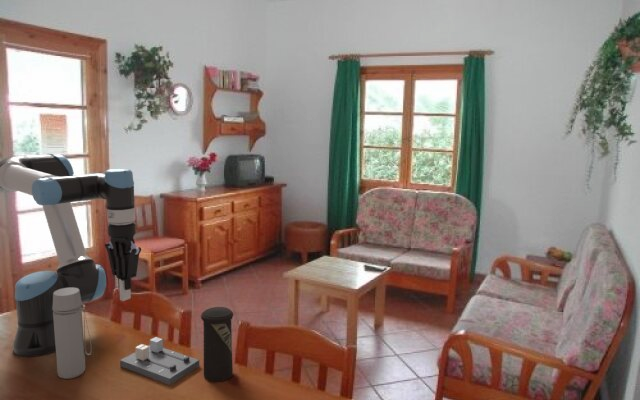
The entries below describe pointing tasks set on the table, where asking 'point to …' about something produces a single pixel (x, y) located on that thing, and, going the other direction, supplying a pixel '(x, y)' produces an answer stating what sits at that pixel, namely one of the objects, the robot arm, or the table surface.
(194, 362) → the console
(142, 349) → the cream fader
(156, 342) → the grey fader
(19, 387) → the table surface
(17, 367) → the table surface
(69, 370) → the water bottle
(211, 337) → the container
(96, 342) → the table surface
